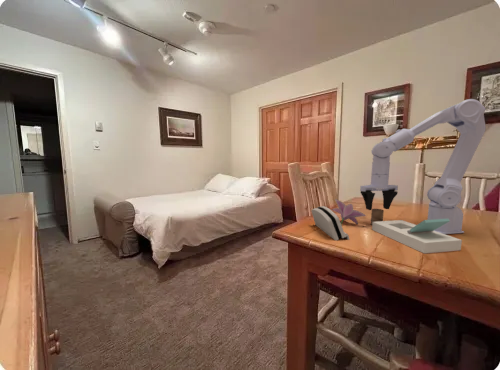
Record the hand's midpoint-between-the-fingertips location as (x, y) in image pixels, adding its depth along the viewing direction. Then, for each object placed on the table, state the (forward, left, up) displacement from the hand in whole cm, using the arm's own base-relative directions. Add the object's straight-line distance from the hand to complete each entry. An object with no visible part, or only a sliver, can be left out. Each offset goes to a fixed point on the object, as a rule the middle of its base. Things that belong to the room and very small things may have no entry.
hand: (377, 209), depth 84 cm
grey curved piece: (+23, +4, -7) cm, 24 cm away
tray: (0, +15, -6) cm, 16 cm away
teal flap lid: (0, +18, -3) cm, 18 cm away
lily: (+11, -3, -7) cm, 13 cm away
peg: (0, 0, -6) cm, 6 cm away
